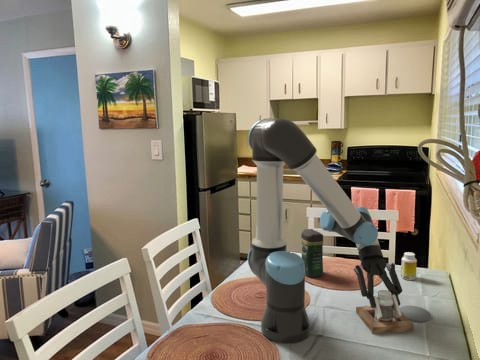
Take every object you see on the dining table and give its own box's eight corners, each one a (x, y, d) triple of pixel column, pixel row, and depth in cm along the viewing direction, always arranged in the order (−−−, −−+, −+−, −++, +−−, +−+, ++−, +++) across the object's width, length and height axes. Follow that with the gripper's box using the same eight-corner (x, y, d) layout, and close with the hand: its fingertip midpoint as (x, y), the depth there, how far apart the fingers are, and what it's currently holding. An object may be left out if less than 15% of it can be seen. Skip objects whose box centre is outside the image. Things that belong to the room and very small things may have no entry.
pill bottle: (396, 322, 122) (397, 293, 121) (385, 327, 119) (386, 297, 118) (381, 315, 127) (382, 287, 125) (371, 320, 124) (372, 291, 122)
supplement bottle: (418, 279, 154) (420, 255, 152) (406, 281, 153) (407, 256, 151) (409, 274, 159) (411, 250, 158) (397, 276, 158) (399, 252, 156)
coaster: (407, 323, 122) (407, 321, 122) (392, 307, 132) (392, 306, 132) (437, 320, 123) (437, 319, 123) (420, 306, 132) (420, 304, 132)
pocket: (372, 333, 116) (372, 327, 116) (355, 312, 129) (356, 306, 129) (413, 330, 117) (414, 324, 117) (393, 310, 130) (393, 304, 130)
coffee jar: (326, 276, 159) (326, 232, 156) (308, 278, 157) (309, 234, 154) (314, 267, 168) (315, 226, 165) (298, 270, 166) (298, 228, 163)
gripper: (390, 252, 136) (412, 319, 123) (340, 255, 135) (356, 322, 121) (398, 242, 130) (423, 311, 117) (345, 245, 129) (364, 315, 115)
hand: (389, 317), depth 119 cm, fingers closed on pill bottle, 5 cm apart
